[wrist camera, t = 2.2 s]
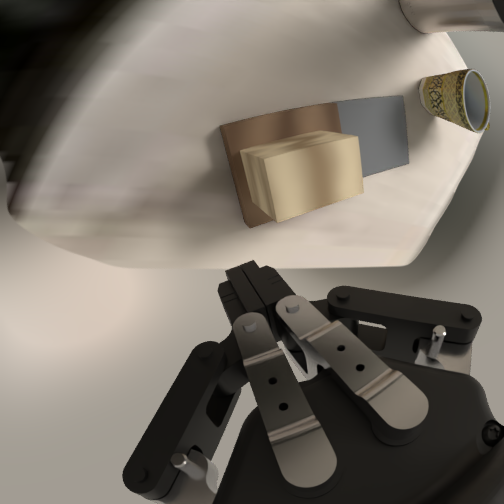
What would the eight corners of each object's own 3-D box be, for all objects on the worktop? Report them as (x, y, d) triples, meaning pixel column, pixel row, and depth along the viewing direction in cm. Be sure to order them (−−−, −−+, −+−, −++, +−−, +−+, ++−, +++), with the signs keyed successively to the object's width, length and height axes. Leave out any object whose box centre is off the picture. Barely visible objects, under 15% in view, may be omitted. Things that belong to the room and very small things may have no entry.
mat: (401, 95, 34) (402, 95, 34) (407, 163, 40) (408, 163, 39) (327, 102, 32) (329, 102, 31) (339, 183, 37) (341, 183, 37)
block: (320, 130, 31) (357, 136, 25) (327, 177, 34) (363, 192, 28) (239, 150, 29) (263, 159, 23) (252, 201, 32) (277, 222, 26)
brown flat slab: (327, 102, 32) (336, 102, 30) (340, 190, 38) (349, 194, 36) (219, 125, 29) (223, 126, 27) (244, 222, 35) (250, 228, 33)
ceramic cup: (405, 99, 35) (457, 105, 26) (421, 55, 32) (470, 55, 23) (442, 142, 41) (487, 155, 32) (456, 101, 38) (499, 109, 29)
